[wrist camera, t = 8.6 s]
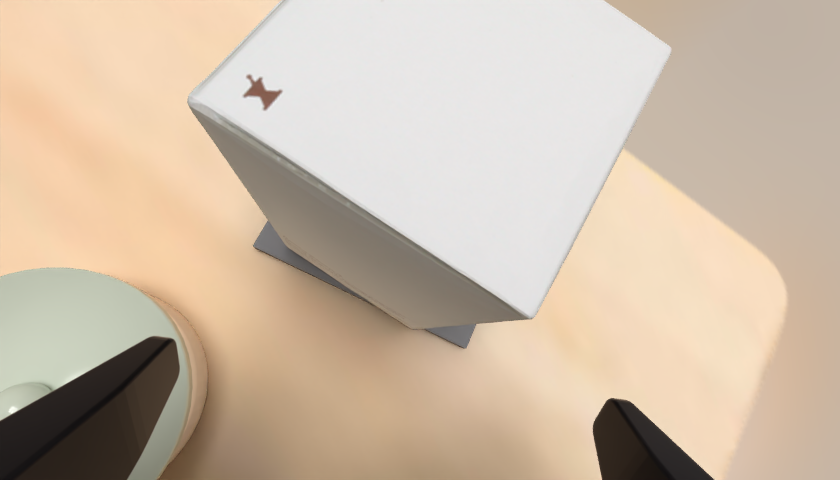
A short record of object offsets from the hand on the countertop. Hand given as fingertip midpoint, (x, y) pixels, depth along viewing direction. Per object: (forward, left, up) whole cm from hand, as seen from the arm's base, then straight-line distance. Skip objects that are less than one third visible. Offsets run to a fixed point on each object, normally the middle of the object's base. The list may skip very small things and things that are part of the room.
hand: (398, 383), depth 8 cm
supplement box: (+6, +2, -11) cm, 12 cm away
